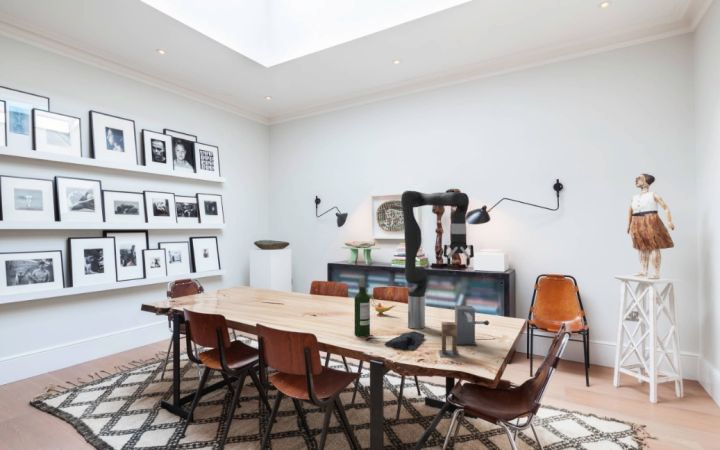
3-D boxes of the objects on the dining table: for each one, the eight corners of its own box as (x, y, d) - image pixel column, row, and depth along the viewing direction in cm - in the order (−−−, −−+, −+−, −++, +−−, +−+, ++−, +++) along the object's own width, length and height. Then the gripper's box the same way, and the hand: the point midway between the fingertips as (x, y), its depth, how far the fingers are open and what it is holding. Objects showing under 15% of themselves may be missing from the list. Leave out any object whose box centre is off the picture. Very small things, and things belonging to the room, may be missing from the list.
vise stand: (458, 353, 160) (458, 314, 160) (452, 340, 179) (452, 305, 179) (496, 355, 158) (496, 315, 158) (487, 341, 177) (487, 306, 177)
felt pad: (440, 357, 156) (440, 356, 156) (439, 350, 164) (439, 349, 164) (459, 357, 155) (459, 356, 155) (457, 351, 163) (457, 350, 163)
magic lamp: (393, 318, 222) (393, 300, 222) (367, 314, 232) (367, 296, 232) (398, 316, 227) (398, 298, 227) (373, 312, 237) (373, 295, 237)
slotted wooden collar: (442, 354, 158) (442, 324, 158) (441, 351, 162) (441, 321, 162) (456, 355, 157) (456, 324, 158) (455, 351, 161) (455, 322, 161)
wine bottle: (364, 337, 183) (364, 277, 183) (351, 335, 188) (351, 276, 188) (372, 333, 190) (372, 275, 190) (359, 331, 194) (359, 274, 194)
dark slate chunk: (429, 339, 182) (429, 330, 182) (412, 353, 163) (412, 342, 163) (401, 335, 189) (401, 325, 189) (381, 347, 170) (381, 337, 170)
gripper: (444, 233, 178) (444, 266, 178) (474, 233, 176) (474, 267, 176) (442, 232, 185) (442, 264, 185) (472, 232, 183) (472, 265, 183)
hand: (458, 265), depth 181 cm, fingers open, 8 cm apart
